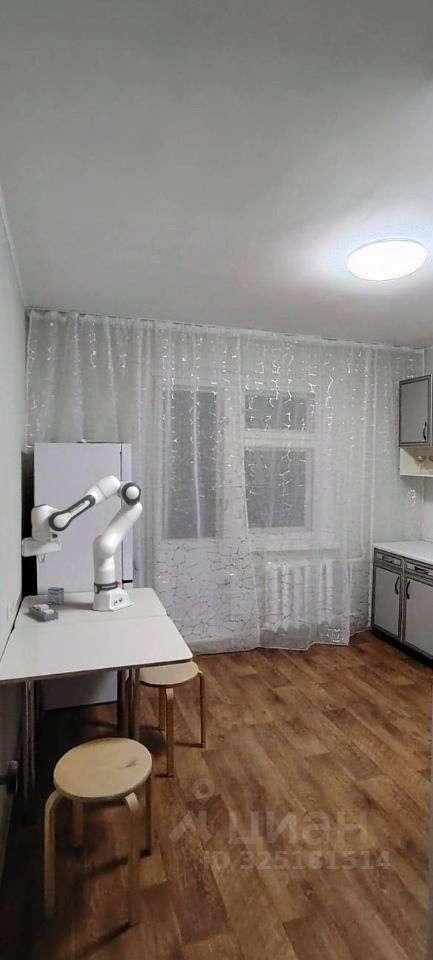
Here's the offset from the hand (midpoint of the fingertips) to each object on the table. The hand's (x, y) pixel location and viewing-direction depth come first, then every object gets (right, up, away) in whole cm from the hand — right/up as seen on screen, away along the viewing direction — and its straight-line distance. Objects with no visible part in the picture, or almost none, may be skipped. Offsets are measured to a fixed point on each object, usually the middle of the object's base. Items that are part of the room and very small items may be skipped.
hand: (42, 562), depth 257 cm
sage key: (+5, -27, -5) cm, 28 cm away
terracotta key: (-4, -27, +4) cm, 27 cm away
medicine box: (0, -27, +23) cm, 36 cm away
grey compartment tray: (+1, -28, 0) cm, 28 cm away
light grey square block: (+1, -25, 0) cm, 25 cm away
